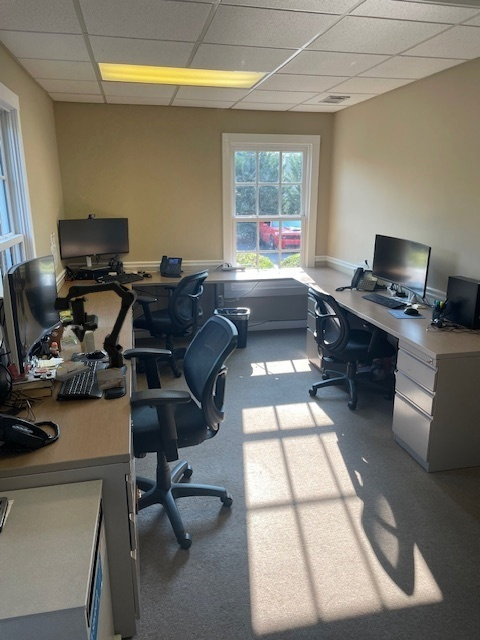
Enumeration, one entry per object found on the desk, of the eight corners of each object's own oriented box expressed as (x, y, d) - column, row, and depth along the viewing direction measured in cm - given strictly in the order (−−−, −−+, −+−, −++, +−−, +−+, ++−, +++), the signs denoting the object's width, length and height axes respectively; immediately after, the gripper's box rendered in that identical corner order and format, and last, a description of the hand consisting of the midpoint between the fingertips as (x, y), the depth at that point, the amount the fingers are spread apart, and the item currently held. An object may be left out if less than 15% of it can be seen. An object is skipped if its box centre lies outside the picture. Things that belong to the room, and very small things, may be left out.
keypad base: (90, 370, 220) (90, 366, 220) (63, 381, 207) (62, 377, 206) (76, 367, 225) (75, 363, 225) (48, 378, 211) (47, 373, 211)
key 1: (84, 369, 221) (83, 362, 220) (77, 371, 217) (77, 364, 216) (78, 368, 223) (77, 360, 222) (72, 370, 219) (71, 363, 218)
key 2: (75, 369, 216) (75, 361, 215) (69, 371, 213) (68, 364, 212) (69, 367, 218) (69, 360, 217) (63, 370, 215) (62, 362, 214)
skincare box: (91, 351, 251) (89, 330, 248) (96, 353, 248) (94, 331, 245) (80, 354, 246) (78, 332, 243) (85, 356, 243) (83, 333, 240)
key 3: (67, 375, 212) (66, 368, 211) (60, 378, 209) (59, 370, 208) (61, 374, 214) (60, 367, 213) (54, 377, 211) (53, 369, 210)
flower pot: (99, 329, 298) (98, 316, 296) (85, 331, 293) (84, 318, 291) (95, 327, 305) (94, 313, 303) (82, 329, 300) (80, 315, 298)
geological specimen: (97, 381, 193) (95, 368, 207) (99, 394, 195) (97, 381, 208) (123, 377, 197) (120, 364, 210) (125, 390, 198) (121, 377, 212)
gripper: (105, 309, 222) (107, 340, 226) (77, 306, 231) (80, 336, 235) (87, 313, 213) (90, 346, 217) (59, 310, 222) (63, 341, 226)
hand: (81, 342), depth 224 cm, fingers closed
